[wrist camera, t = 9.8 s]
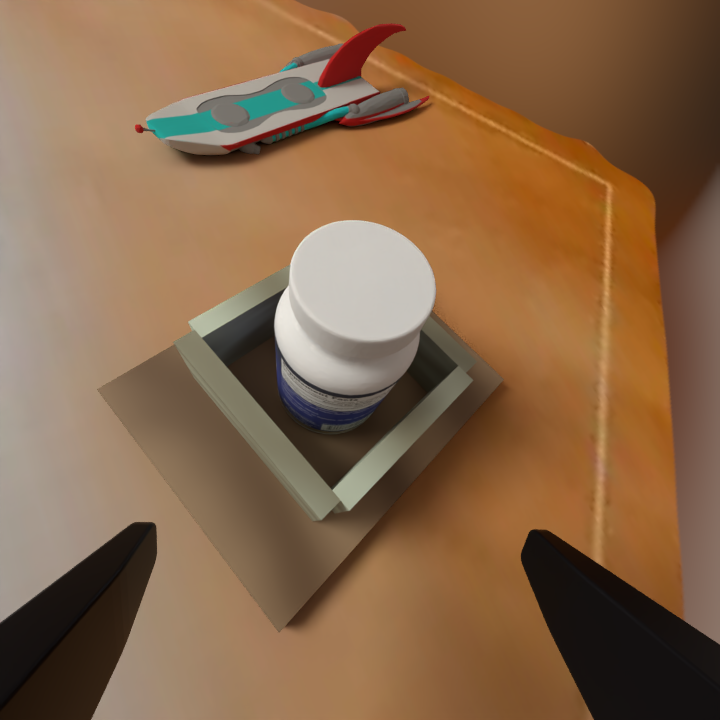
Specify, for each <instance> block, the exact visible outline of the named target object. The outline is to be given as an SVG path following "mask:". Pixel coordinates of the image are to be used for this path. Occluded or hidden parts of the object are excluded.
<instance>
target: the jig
mask: <svg viewBox="0 0 720 720" xmlns="http://www.w3.org/2000/svg"><path fill="white" fill-rule="evenodd" d="M290 265H291V264H290ZM290 265H289V266H287V267H285V268H283V269H281V270H280V271H278V272H276V273H274V274H272V275H271V276H269V277H267V278H265V279H264V280H262V281H260V282H258V283H256V284H255V285H253V286H251V287H249V288H247V289H246V290H244V291H242V292H240V293H239V294H237V295H235V296H233V297H231V298H230V299H228V300H226V301H224V302H222V303H221V304H219V305H217V306H215V307H214V308H212V309H210V310H208V311H206V312H205V313H203V314H201V315H199V316H197V317H196V318H194V319H192V320H190V321H189V322H188V323H189V325H190V327H191V330H192V332H190V333H188V334H186V335H185V336H183V337H181V338H180V339H178V340H176V341H174V342H173V343H174V345H173V346H171V347H169V348H167V349H166V350H164V351H162V352H161V353H159V354H157V355H155V356H154V357H152V358H150V359H148V360H147V361H145V362H143V363H142V364H140V365H138V366H136V367H135V368H133V369H131V370H130V371H128V372H126V373H124V374H123V375H121V376H119V377H117V378H116V379H114V380H112V381H111V382H109V383H107V384H105V385H104V386H102V387H100V388H99V389H97V390H98V392H99V393H100V394H101V396H102V397H103V398H104V400H105V401H106V402H107V404H108V405H109V406H110V408H111V409H112V410H113V412H114V413H115V414H116V416H117V417H118V418H119V420H120V421H121V422H122V424H123V425H124V426H125V428H126V429H127V430H128V432H129V433H130V434H131V436H132V437H133V438H134V440H135V441H136V442H137V444H138V445H139V446H140V448H141V449H142V450H143V452H144V453H145V454H146V456H147V457H148V458H149V460H150V461H151V462H152V464H153V465H154V466H155V468H156V469H157V470H158V472H159V473H160V474H161V476H162V477H163V478H164V480H165V481H166V482H167V484H168V485H169V486H170V488H171V489H172V490H173V492H174V493H175V494H176V496H177V497H178V498H179V500H180V501H181V502H182V504H183V505H184V507H185V508H186V509H187V511H188V512H189V513H190V515H191V516H192V517H193V519H194V520H195V521H196V523H197V524H198V525H199V527H200V528H201V529H202V531H203V532H204V533H205V535H206V536H207V537H208V539H209V540H210V541H211V543H212V544H213V545H214V547H215V548H216V549H217V551H218V552H219V553H220V555H221V556H222V557H223V559H224V560H225V561H226V563H227V564H228V565H229V567H230V568H231V569H232V571H233V572H234V573H235V575H236V576H237V577H238V579H239V580H240V581H241V583H242V584H243V585H244V587H245V588H246V589H247V591H248V592H249V593H250V595H251V596H252V597H253V599H254V600H255V601H256V603H257V604H258V605H259V607H260V608H261V609H262V611H263V612H264V613H265V615H266V616H267V617H268V619H269V620H270V621H271V623H272V624H273V625H274V627H275V628H276V629H277V631H278V632H280V631H281V630H282V629H283V628H284V627H285V626H286V624H287V623H288V622H289V621H290V620H291V619H292V618H293V617H294V615H295V614H296V613H297V612H298V611H299V610H300V609H301V608H302V606H303V605H304V604H305V603H306V602H307V601H308V600H309V599H310V597H311V596H312V595H313V594H314V593H315V592H316V591H317V589H318V588H319V587H320V586H321V585H322V584H323V583H324V582H325V580H326V579H327V578H328V577H329V576H330V575H331V574H332V573H333V571H334V570H335V569H336V568H337V567H338V566H339V565H340V564H341V562H342V561H343V560H344V559H345V558H346V557H347V556H348V555H349V553H350V552H351V551H352V550H353V549H354V548H355V547H356V546H357V544H358V543H359V542H360V541H361V540H362V539H363V538H364V537H365V535H366V534H367V533H368V532H369V531H370V530H371V529H372V528H373V526H374V525H375V524H376V523H377V522H378V521H379V520H380V518H381V517H382V516H383V515H384V514H385V513H386V512H387V511H388V509H389V508H390V507H391V506H392V505H393V504H394V503H395V502H396V500H397V499H398V498H399V497H400V496H401V495H402V494H403V493H404V491H405V490H406V489H407V488H408V487H409V486H410V485H411V484H412V482H413V481H414V480H415V479H416V478H417V477H418V476H419V475H420V473H421V472H422V471H423V470H424V469H425V468H426V467H427V466H428V464H429V463H430V462H431V461H432V460H433V459H434V458H435V457H436V455H437V454H438V453H439V452H440V451H441V450H442V449H443V448H444V446H445V445H446V444H447V443H448V442H449V441H450V440H451V438H452V437H453V436H454V435H455V434H456V433H457V432H458V431H459V429H460V428H461V427H462V426H463V425H464V424H465V423H466V422H467V420H468V419H469V418H470V417H471V416H472V415H473V414H474V413H475V411H476V410H477V409H478V408H479V407H480V406H481V405H482V404H483V402H484V401H485V400H486V399H487V398H488V397H489V396H490V395H491V393H492V392H493V391H494V390H495V389H496V388H497V387H498V386H499V384H500V383H501V382H502V381H503V380H504V379H503V378H502V377H501V376H500V375H499V374H498V373H497V372H496V371H495V370H494V369H492V368H491V367H490V366H489V365H488V364H487V363H486V362H485V361H484V360H483V359H482V358H481V357H480V356H479V355H478V354H477V353H476V352H475V351H474V350H473V349H471V348H470V347H469V346H468V345H467V344H466V343H465V342H464V341H463V340H462V339H461V338H460V337H459V336H458V335H457V334H456V333H455V332H454V331H453V330H452V329H451V328H449V327H448V326H447V325H446V324H445V323H444V322H443V321H442V320H441V319H440V318H439V317H438V316H437V315H436V314H435V313H434V312H433V311H431V313H430V315H429V317H428V319H427V320H426V322H425V324H424V325H423V327H422V329H421V331H420V339H419V345H418V349H417V352H416V355H415V357H414V359H413V361H412V363H411V365H410V366H409V368H408V369H407V371H406V372H405V373H404V374H403V376H402V377H401V379H400V380H399V381H398V382H397V383H396V384H395V386H394V387H393V388H392V389H391V391H390V392H389V393H388V394H387V396H386V397H385V398H384V399H383V401H382V402H381V403H380V404H379V406H378V407H377V408H376V410H375V411H374V412H373V414H372V415H371V416H370V417H369V418H368V419H367V420H366V421H365V422H364V423H362V424H361V425H360V426H358V427H357V428H355V429H353V430H350V431H348V432H344V433H340V434H322V433H317V432H313V431H311V430H308V429H306V428H304V427H302V426H301V425H299V424H298V423H297V422H295V421H294V420H293V419H292V418H291V417H290V415H289V414H288V413H287V412H286V410H285V409H284V407H283V405H282V403H281V400H280V397H279V394H278V386H277V369H276V350H275V331H274V320H275V314H276V309H277V306H278V303H279V300H280V298H281V296H282V294H283V293H284V291H285V289H286V288H287V287H288V285H289V274H290Z"/></svg>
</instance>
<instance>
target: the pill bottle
mask: <svg viewBox="0 0 720 720" xmlns="http://www.w3.org/2000/svg"><path fill="white" fill-rule="evenodd" d="M435 297H436V284H435V278H434V274H433V271H432V269H431V266H430V264H429V263H428V261H427V259H426V258H425V256H424V255H423V253H422V252H421V251H420V250H419V249H418V248H417V247H416V246H415V245H414V244H413V243H412V242H411V241H410V240H408V239H407V238H406V237H405V236H403V235H402V234H400V233H398V232H396V231H395V230H393V229H390V228H388V227H385V226H383V225H380V224H376V223H372V222H367V221H360V220H349V221H339V222H334V223H330V224H327V225H325V226H322V227H320V228H318V229H316V230H315V231H313V232H311V233H310V234H309V235H308V236H307V237H305V238H304V240H303V241H302V242H301V243H300V244H299V246H298V247H297V249H296V251H295V253H294V255H293V258H292V261H291V265H290V274H289V285H288V287H287V288H286V289H285V291H284V293H283V294H282V296H281V298H280V300H279V303H278V306H277V309H276V314H275V320H274V331H275V350H276V369H277V386H278V394H279V397H280V400H281V403H282V405H283V407H284V409H285V410H286V412H287V413H288V414H289V415H290V417H291V418H292V419H293V420H294V421H295V422H297V423H298V424H299V425H301V426H302V427H304V428H306V429H308V430H311V431H313V432H317V433H322V434H340V433H344V432H348V431H350V430H353V429H355V428H357V427H358V426H360V425H361V424H362V423H364V422H365V421H366V420H367V419H368V418H369V417H370V416H371V415H372V414H373V412H374V411H375V410H376V408H377V407H378V406H379V404H380V403H381V402H382V401H383V399H384V398H385V397H386V396H387V394H388V393H389V392H390V391H391V389H392V388H393V387H394V386H395V384H396V383H397V382H398V381H399V380H400V379H401V377H402V376H403V374H404V373H405V372H406V371H407V369H408V368H409V366H410V365H411V363H412V361H413V359H414V357H415V355H416V352H417V349H418V345H419V339H420V331H421V329H422V327H423V325H424V324H425V322H426V320H427V319H428V317H429V315H430V313H431V311H432V309H433V306H434V303H435Z"/></svg>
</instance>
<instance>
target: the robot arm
mask: <svg viewBox="0 0 720 720" xmlns="http://www.w3.org/2000/svg"><path fill="white" fill-rule="evenodd" d="M156 556H157V533H156V525H155V524H154V523H153V522H135V523H132V524H131V525H129V526H128V527H127V528H125V529H124V530H123V531H121V532H120V533H119V534H117V535H116V536H115V537H113V538H112V539H111V540H109V541H108V542H107V543H105V544H104V545H103V546H101V547H100V548H99V549H97V550H96V551H95V552H93V553H92V554H91V555H89V556H88V557H87V558H85V559H84V560H83V561H81V562H80V563H79V564H77V565H76V566H75V567H74V568H72V569H71V570H70V571H68V572H67V573H66V574H64V575H63V576H62V577H60V578H59V579H58V580H56V581H55V582H54V583H52V584H51V585H50V586H48V587H47V588H46V589H44V590H43V591H42V592H40V593H39V594H38V595H36V596H35V597H34V598H32V599H31V600H30V601H28V602H27V603H26V604H24V605H23V606H22V607H21V608H19V609H18V610H17V611H15V612H14V613H13V614H11V615H10V616H9V617H7V618H6V619H5V620H3V621H2V622H1V623H0V720H91V719H92V717H93V714H94V712H95V710H96V708H97V706H98V704H99V702H100V699H101V697H102V695H103V693H104V691H105V689H106V686H107V684H108V682H109V680H110V678H111V676H112V674H113V671H114V669H115V667H116V665H117V663H118V661H119V658H120V656H121V654H122V652H123V649H124V647H125V644H126V642H127V639H128V637H129V634H130V631H131V628H132V626H133V623H134V620H135V617H136V614H137V612H138V609H139V606H140V603H141V601H142V598H143V595H144V592H145V589H146V587H147V584H148V581H149V578H150V575H151V573H152V570H153V567H154V564H155V561H156ZM521 561H522V565H523V567H524V570H525V572H526V575H527V577H528V580H529V582H530V585H531V587H532V589H533V592H534V594H535V597H536V599H537V602H538V604H539V607H540V609H541V612H542V614H543V617H544V619H545V621H546V624H547V626H548V628H549V630H550V633H551V635H552V637H553V639H554V641H555V643H556V645H557V647H558V649H559V651H560V653H561V655H562V657H563V659H564V661H565V663H566V665H567V667H568V669H569V671H570V673H571V675H572V677H573V679H574V681H575V683H576V685H577V687H578V689H579V691H580V693H581V695H582V697H583V699H584V701H585V703H586V705H587V707H588V709H589V711H590V713H591V715H592V717H593V719H594V720H720V645H719V644H718V643H716V642H715V641H713V640H712V639H710V638H709V637H707V636H706V635H704V634H703V633H701V632H700V631H698V630H697V629H695V628H694V627H692V626H691V625H689V624H688V623H686V622H685V621H683V620H682V619H680V618H679V617H677V616H676V615H674V614H673V613H671V612H670V611H668V610H667V609H665V608H664V607H662V606H661V605H659V604H658V603H656V602H655V601H653V600H652V599H650V598H649V597H647V596H646V595H644V594H643V593H641V592H640V591H638V590H637V589H635V588H634V587H632V586H631V585H629V584H628V583H626V582H625V581H623V580H622V579H620V578H619V577H617V576H616V575H614V574H613V573H611V572H610V571H608V570H607V569H605V568H604V567H602V566H601V565H599V564H598V563H596V562H595V561H593V560H592V559H590V558H589V557H587V556H586V555H584V554H583V553H581V552H580V551H578V550H577V549H575V548H574V547H572V546H571V545H569V544H568V543H566V542H565V541H563V540H562V539H560V538H559V537H557V536H556V535H554V534H553V533H551V532H550V531H548V530H538V529H534V530H531V531H530V532H529V534H528V536H527V539H526V542H525V544H524V547H523V549H522V552H521Z"/></svg>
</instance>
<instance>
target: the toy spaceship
mask: <svg viewBox="0 0 720 720" xmlns="http://www.w3.org/2000/svg"><path fill="white" fill-rule="evenodd" d="M400 31H406V29H405V27H403V26H402V25H400V24H380V25H377V26H374V27H371V28H369V29H366V30H364V31H362V32H360V33H358V34H357V35H355V36H353V37H352V38H350V39H349V40H348V41H347V42H346V43H344V44H338V45H335V46H329V47H324V48H321V49H318V50H315V51H312V52H309V53H307V54H304V55H302V56H300V57H295V58H293V60H292V61H291V62H289V63H288V64H287V65H286V66H285V68H283V69H282V70H281V71H280V72H279V73H276V74H272V75H268V76H265V77H261V78H257V79H254V80H250V81H246V82H243V83H239V84H235V85H232V86H228V87H224V88H221V89H217V90H213V91H210V92H206V93H202V94H199V95H195V96H191V97H188V98H184V99H181V100H179V101H177V102H175V103H173V104H171V105H169V106H167V107H165V108H163V109H161V110H158V111H156V112H154V113H152V114H150V115H149V116H148V117H147V118H146V122H147V126H148V128H149V129H146V128H143V127H142V126H141V125H135V130H136V131H137V132H138V133H143V131H152V132H153V133H154V134H155V135H156V136H157V137H158V138H159V139H160V140H161V141H162V142H163V143H164V144H166V145H168V146H170V147H173V148H175V149H178V150H181V151H184V152H188V153H192V154H197V155H224V154H228V153H229V152H232V151H235V150H237V149H239V150H240V151H242V152H244V153H248V154H253V153H254V154H259V152H260V148H261V147H260V146H258V145H256V144H255V143H256V142H259V141H261V142H263V143H266V144H272V143H273V141H274V142H277V141H279V139H281V140H282V139H284V138H285V137H290V136H291V135H292V134H293V135H295V134H297V133H298V132H303V131H304V130H307V129H310V128H313V127H316V126H319V125H322V124H324V123H327V122H329V121H332V120H337V121H341V122H340V123H339V124H344V125H346V126H349V127H354V126H361V125H366V124H370V123H373V122H376V121H379V120H381V119H386V118H391V117H395V116H398V115H401V114H404V113H407V112H409V111H411V110H413V109H415V108H417V107H418V106H420V105H421V104H423V103H424V102H425V101H427V100H428V99H429V96H427V97H425V98H422V99H419V100H416V101H413V102H409V97H408V93H407V91H406V90H405V89H403V88H397V89H393V90H391V91H388V92H385V93H382V94H380V92H379V91H378V90H377V89H375V88H374V87H373V86H372V85H370V84H369V83H368V82H367V81H365V80H364V79H363V78H362V77H361V68H362V66H363V64H364V63H365V61H366V59H367V58H368V56H369V55H370V53H371V52H372V51H373V50H374V49H375V48H376V46H377V45H379V44H380V43H381V42H382V41H384V40H385V39H386V38H388V37H389V36H391V35H392V34H394V33H397V32H400ZM408 102H409V103H408Z"/></svg>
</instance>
